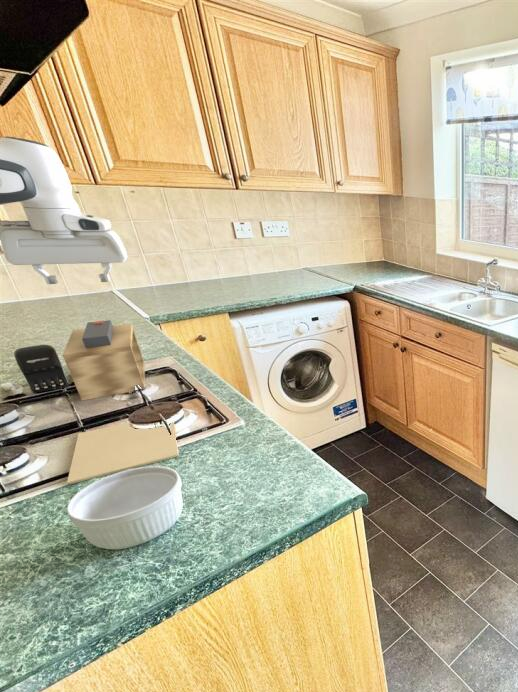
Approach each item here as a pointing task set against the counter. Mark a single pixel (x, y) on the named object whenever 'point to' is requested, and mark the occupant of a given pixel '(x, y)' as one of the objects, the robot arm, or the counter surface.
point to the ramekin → (128, 507)
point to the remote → (98, 334)
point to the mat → (120, 450)
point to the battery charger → (41, 367)
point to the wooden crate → (106, 364)
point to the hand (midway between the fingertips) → (80, 282)
